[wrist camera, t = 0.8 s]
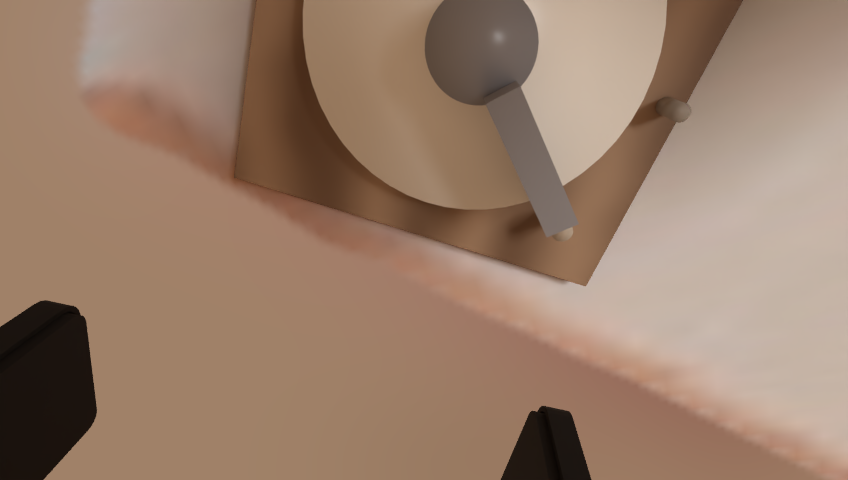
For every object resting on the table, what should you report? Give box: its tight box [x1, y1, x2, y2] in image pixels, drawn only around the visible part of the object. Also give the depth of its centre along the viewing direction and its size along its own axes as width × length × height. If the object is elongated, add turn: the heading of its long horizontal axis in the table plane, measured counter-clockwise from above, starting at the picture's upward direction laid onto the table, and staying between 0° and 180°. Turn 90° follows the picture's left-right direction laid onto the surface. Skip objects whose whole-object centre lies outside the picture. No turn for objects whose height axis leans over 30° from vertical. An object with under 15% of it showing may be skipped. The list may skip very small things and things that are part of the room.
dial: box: [303, 0, 667, 237], centre depth 22 cm, size 18×18×6 cm
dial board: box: [234, 0, 743, 286], centre depth 24 cm, size 24×24×6 cm
